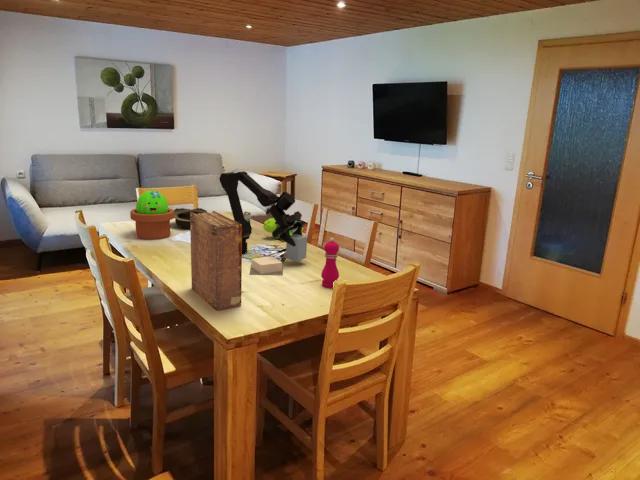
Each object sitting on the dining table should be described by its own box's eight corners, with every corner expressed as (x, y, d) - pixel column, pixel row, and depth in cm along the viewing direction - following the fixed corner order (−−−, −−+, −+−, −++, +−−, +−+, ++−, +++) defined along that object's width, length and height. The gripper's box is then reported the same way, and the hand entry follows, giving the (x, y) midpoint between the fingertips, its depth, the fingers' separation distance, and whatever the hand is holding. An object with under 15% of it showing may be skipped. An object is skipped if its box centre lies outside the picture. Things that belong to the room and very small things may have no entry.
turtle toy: (258, 236, 270) (259, 215, 267) (297, 233, 280) (298, 213, 277) (268, 243, 255) (268, 222, 252) (308, 240, 265) (309, 220, 262)
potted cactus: (131, 231, 265) (128, 186, 259) (172, 230, 274) (171, 186, 267) (132, 242, 246) (129, 193, 240) (176, 239, 254) (175, 192, 248)
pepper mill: (320, 282, 200) (322, 235, 195) (337, 282, 201) (340, 235, 196) (321, 288, 193) (323, 240, 188) (339, 288, 194) (342, 240, 189)
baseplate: (249, 277, 202) (249, 274, 202) (251, 266, 217) (251, 263, 217) (282, 277, 204) (282, 275, 203) (282, 266, 218) (282, 264, 218)
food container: (247, 233, 274) (247, 216, 271) (236, 232, 275) (237, 215, 272) (254, 228, 286) (254, 212, 283) (244, 227, 287) (244, 211, 284)
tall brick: (285, 258, 218) (286, 236, 215) (294, 255, 223) (295, 234, 221) (297, 261, 215) (298, 239, 212) (306, 257, 220) (307, 236, 218)
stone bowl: (179, 219, 299) (180, 205, 296) (218, 225, 296) (219, 211, 294) (161, 227, 275) (162, 212, 272) (203, 234, 272) (204, 218, 270)
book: (191, 288, 187) (189, 211, 180) (214, 284, 192) (213, 210, 185) (217, 311, 167) (216, 226, 159) (241, 306, 172) (242, 224, 164)
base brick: (251, 267, 212) (251, 258, 211) (272, 264, 217) (272, 256, 216) (260, 274, 203) (260, 265, 202) (282, 271, 208) (282, 262, 207)
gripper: (278, 208, 207) (298, 238, 205) (302, 203, 223) (321, 230, 220) (263, 223, 213) (282, 252, 211) (288, 217, 229) (306, 244, 226)
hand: (299, 244), depth 217 cm, fingers closed on tall brick, 7 cm apart
